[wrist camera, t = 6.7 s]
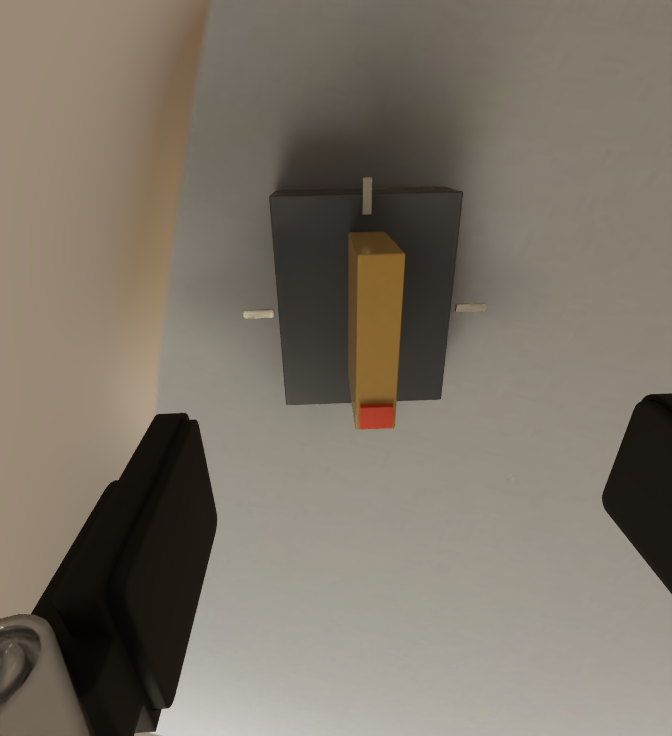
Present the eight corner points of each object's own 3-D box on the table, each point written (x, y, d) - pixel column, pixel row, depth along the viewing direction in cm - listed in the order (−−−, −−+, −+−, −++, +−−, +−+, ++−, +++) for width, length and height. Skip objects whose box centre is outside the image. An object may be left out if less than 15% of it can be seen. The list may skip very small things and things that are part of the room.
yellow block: (348, 231, 18) (358, 255, 14) (385, 231, 18) (407, 254, 14) (348, 378, 21) (356, 433, 17) (379, 377, 21) (396, 432, 17)
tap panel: (237, 177, 19) (226, 180, 17) (482, 172, 20) (505, 174, 17) (261, 392, 24) (255, 418, 22) (456, 385, 25) (471, 410, 22)
